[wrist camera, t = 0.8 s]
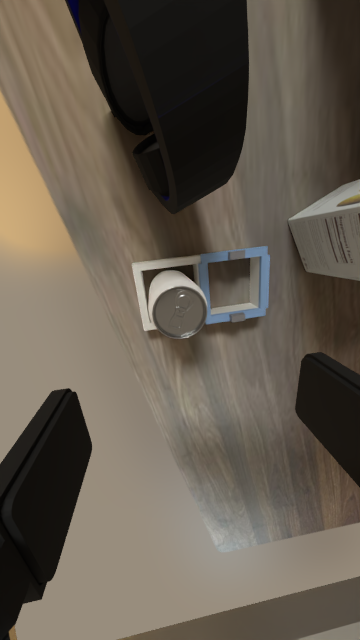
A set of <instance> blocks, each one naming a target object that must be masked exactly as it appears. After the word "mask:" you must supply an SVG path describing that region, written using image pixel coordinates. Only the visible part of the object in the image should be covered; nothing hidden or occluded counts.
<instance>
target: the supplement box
mask: <svg viewBox="0 0 360 640" xmlns="http://www.w3.org/2000/svg"><path fill="white" fill-rule="evenodd" d="M288 223H289V226H290V229H291V232H292V235H293V237H294V240H295V243H296V246H297V248H298V251H299V254H300V257H301V260H302V262H303V265H304V268H305V270H306V272H310V273H316V274H322V275H328V276H334V277H340V278H346V279H353V280H358V281H360V180H356V181H353V182H350V183H347V184H344V185H342V186H340V187H339V188H337V189H336V190H334V191H332V192H331V193H329V194H328V195H326V196H325V197H323V198H321V199H320V200H318V201H317V202H315V203H314V204H312V205H310V206H309V207H307V208H306V209H304V210H302V211H301V212H299V213H298V214H296V215H295V216H293V217H292V218H290V219H289V220H288Z"/></svg>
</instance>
